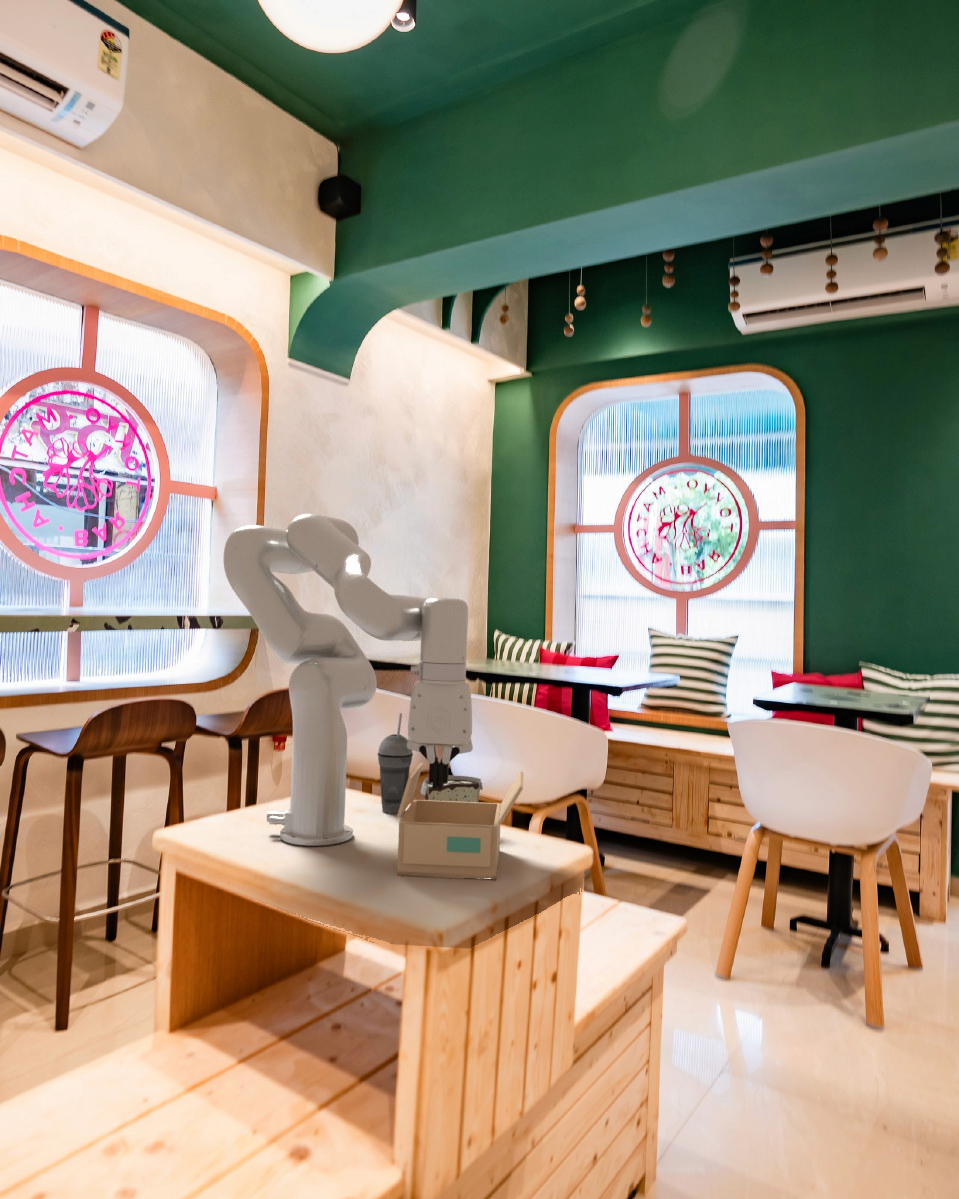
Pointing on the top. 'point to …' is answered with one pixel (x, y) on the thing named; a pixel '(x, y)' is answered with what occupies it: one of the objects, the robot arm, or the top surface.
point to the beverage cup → (394, 770)
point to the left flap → (409, 790)
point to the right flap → (511, 797)
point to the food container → (454, 789)
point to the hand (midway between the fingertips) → (438, 787)
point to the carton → (449, 839)
